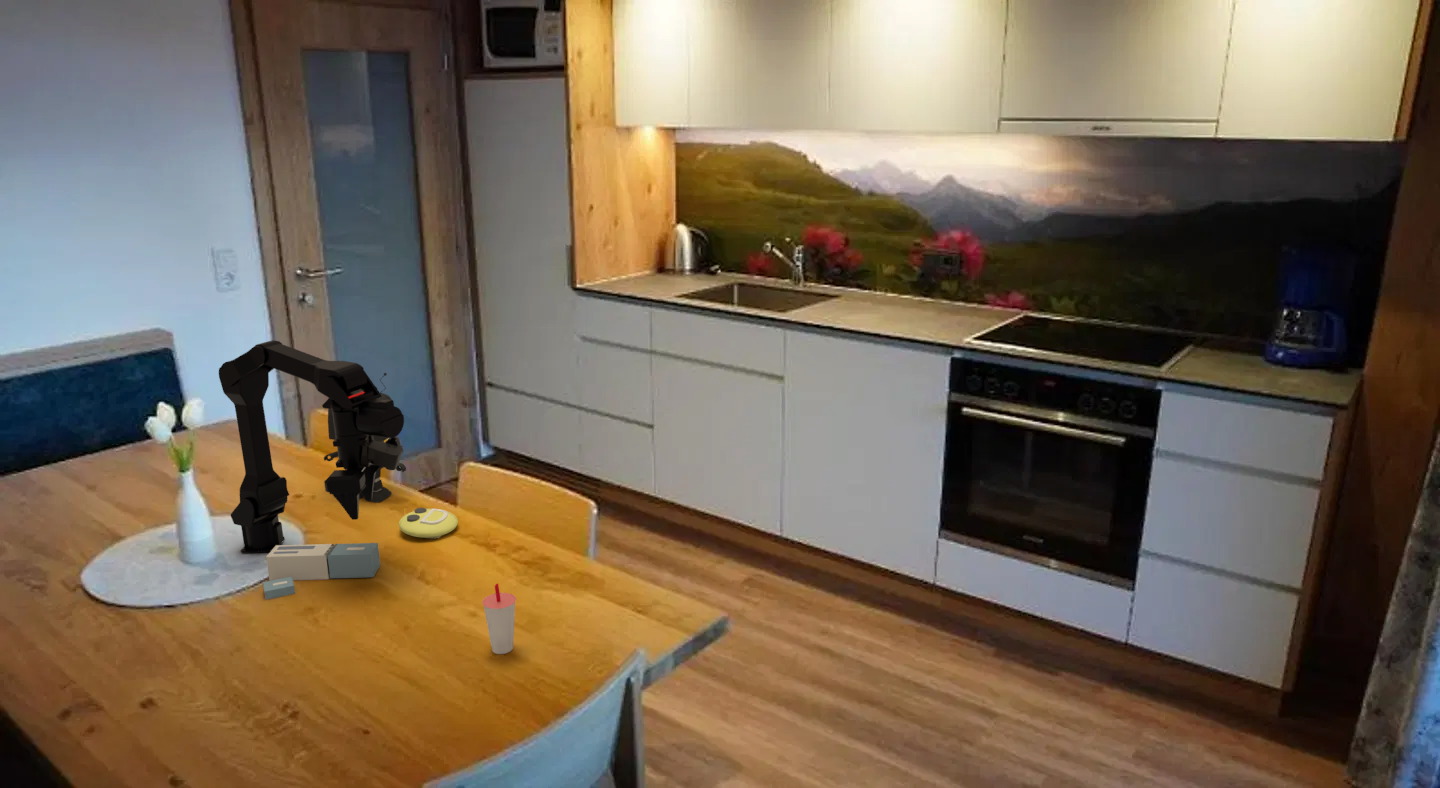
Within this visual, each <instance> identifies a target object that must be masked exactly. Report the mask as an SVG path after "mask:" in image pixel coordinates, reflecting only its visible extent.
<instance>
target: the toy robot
mask: <svg viewBox="0 0 1440 788" xmlns="http://www.w3.org/2000/svg"><path fill="white" fill-rule="evenodd" d="M386 376H387V373H386V372H384V373H383V377H386ZM379 381H380V383H381V384H382V385H383V387H384V389H383V390H381V391H379V393H380V394H381V398H379V400H387V399H388V400H393V399H392V398H391V396H389V394H386V393H382V392H383V391H385V390H386V389H387V388H386V386H385V385H384V383H383V382H382V379H379ZM363 393H365V392H363V391H362V392H360V393H358V394H355V395H352V396H349V397H348V398H349V399H350V398H352V397H355V396H358V395H361V394H363ZM327 428H328V429H327V430H328V439H329V440H332V441H334V440H335V439H336V435H335V428H334V421H333V414H332V409H328V410H327ZM388 439H389V437H382V436H374V441H379V442H381V441H382V440H383V441H384V442H385V440H386V441H387V440H388ZM329 456H330V458H329ZM335 458H339V457H338V450H336V451H334V452H330V453H328V454H326V455H324V457H323V461H324V462H325V461H327V462H331V461H333V460H334V459H335ZM382 469H384V467H380V468H379V469H378V470H377V471H376V474H375V481H374V488H373V495H372V500H371V501H369V502H373V503H382V502H383V501H385V500H386V499H388V498H389V497H390V496H391V495H392V492H391V490H389V489H388V488H387V487H385V486H384V485H383V481H382V479H381V471H382ZM344 470H346V469H344ZM395 471H397V472H402V473H403V472H405V471H407V466H405V464H403V463H402V462H400V463H399V465H398V466H397V467H396V469H395ZM362 498H364V497H363V495H362V493H361V492H360V493H359V500H361V499H362Z"/></svg>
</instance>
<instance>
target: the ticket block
mask: <svg viewBox="0 0 1440 788" xmlns="http://www.w3.org/2000/svg"><path fill="white" fill-rule="evenodd" d="M334 546H335V544H334V543H323V544H322V543H321V544H320V543H317V544H314V543H313V544H311V543H310V544H283V545H282V544H280V545H276V546H275V547H274V548H273V549H272V551H271V552H268V554H267V555H266V556H265V558H266V559H265V560H266V567H267V574H268V579H269V580H268V581H272V580H277V579H282V578H287V577H292V579H293V581H317V580H330V579H331V578H330V572H329V564H328V556H327V555H328V554H329V552H330V551H331V550H332V548H333V547H334Z"/></svg>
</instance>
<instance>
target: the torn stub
mask: <svg viewBox="0 0 1440 788" xmlns="http://www.w3.org/2000/svg"><path fill="white" fill-rule="evenodd" d="M262 587H263V588H262V589H263V593H264V597H265V600H271V599H277V598H280V597H285V596H290V595H294V594H296V589H295V583H294V580H293V579H292V577H287V578H282V579H277V580H272V581H269V580H268V581H264V582H262Z"/></svg>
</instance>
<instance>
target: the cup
mask: <svg viewBox="0 0 1440 788" xmlns="http://www.w3.org/2000/svg"><path fill="white" fill-rule="evenodd" d="M499 587H500V586H499V583H495V585H494V590H495V593H492V594H490V595H487V596H486V597H484V598H483V600H482V605H483V608H484V609H483V610H484V614H485V620H486V624H487V631H488V636H489V641H490V646H491V650H492V653H494V654H497V655H504V654H508V653H511V651H512V650H513V649H514V638H515V637H514V636H515V635H514V634H515V614H516V613H515V612H516V600H517V598H516V596H515V595H514V594H512V593H508V592H500V588H499Z"/></svg>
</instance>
